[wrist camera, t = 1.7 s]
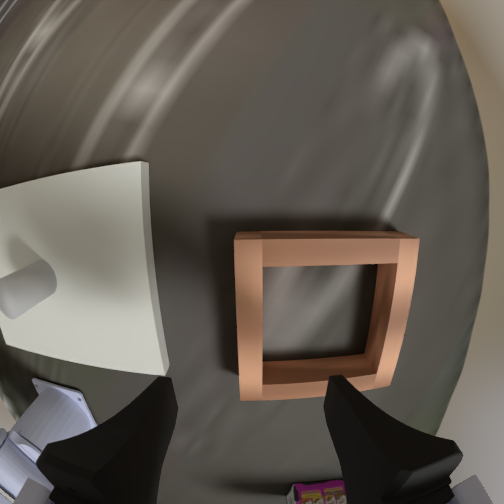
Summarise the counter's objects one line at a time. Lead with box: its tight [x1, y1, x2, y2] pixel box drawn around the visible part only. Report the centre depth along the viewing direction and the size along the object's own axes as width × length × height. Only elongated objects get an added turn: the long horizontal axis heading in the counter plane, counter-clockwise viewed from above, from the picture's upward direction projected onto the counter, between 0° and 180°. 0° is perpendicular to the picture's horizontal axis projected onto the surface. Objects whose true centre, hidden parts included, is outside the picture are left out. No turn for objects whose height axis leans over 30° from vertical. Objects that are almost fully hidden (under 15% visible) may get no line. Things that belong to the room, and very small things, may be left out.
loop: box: [234, 231, 419, 401], centre depth 19 cm, size 12×12×3 cm
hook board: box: [0, 161, 169, 375], centre depth 16 cm, size 16×20×6 cm
